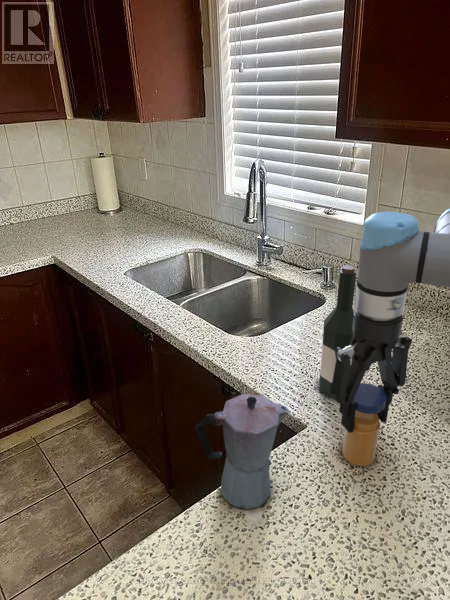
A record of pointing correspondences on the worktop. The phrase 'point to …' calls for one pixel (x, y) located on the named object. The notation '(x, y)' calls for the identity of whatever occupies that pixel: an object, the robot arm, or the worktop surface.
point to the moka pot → (245, 447)
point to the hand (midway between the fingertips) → (363, 422)
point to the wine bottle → (337, 328)
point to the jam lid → (370, 399)
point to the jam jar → (361, 439)
